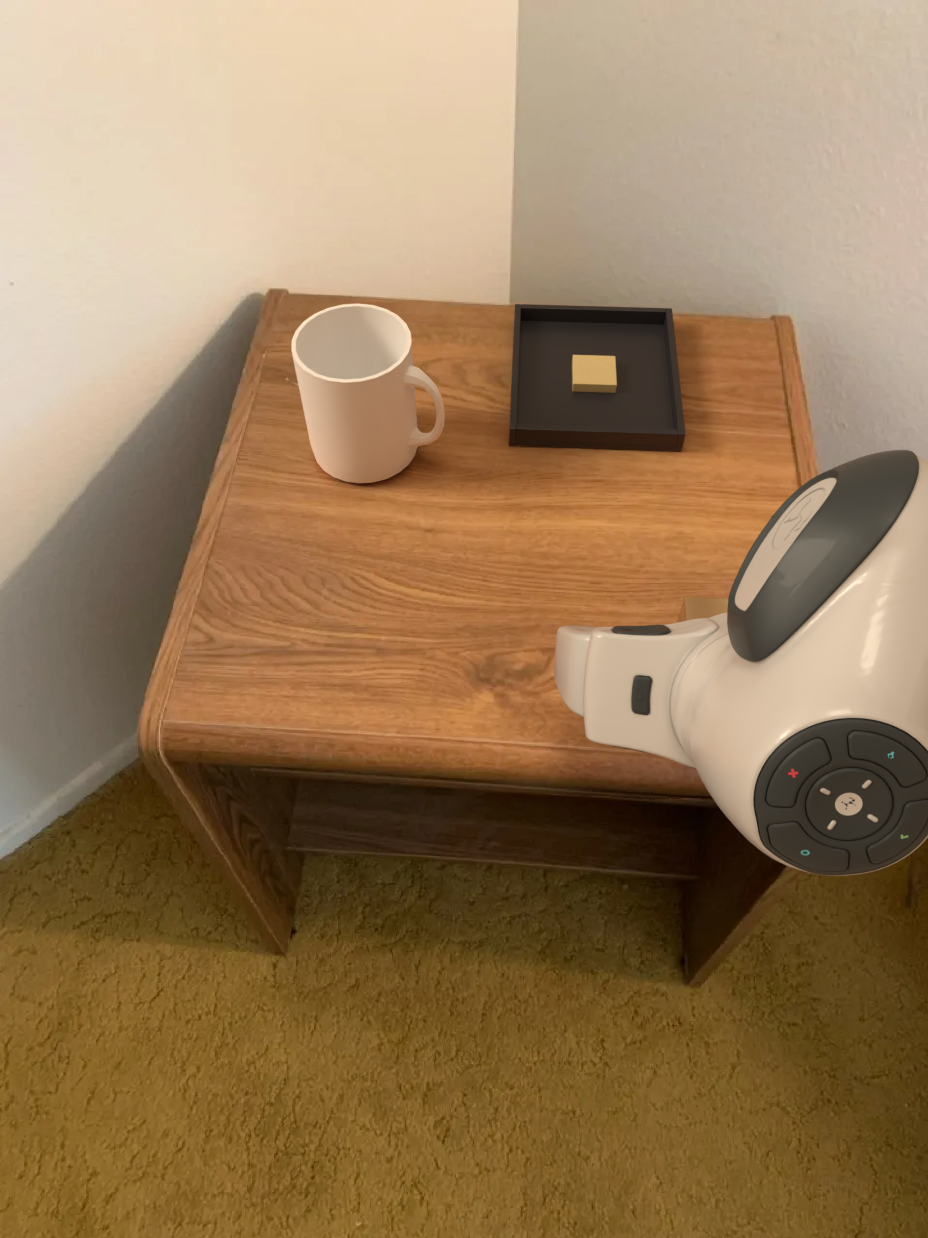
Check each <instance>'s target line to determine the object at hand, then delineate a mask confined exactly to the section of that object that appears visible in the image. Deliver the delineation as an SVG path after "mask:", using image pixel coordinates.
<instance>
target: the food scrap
mask: <svg viewBox="0 0 928 1238" xmlns="http://www.w3.org/2000/svg"><path fill="white" fill-rule="evenodd" d="M616 388H617V376H616V357H615V356H598V355H573V357H572V391H573V392H602V393H616Z"/></svg>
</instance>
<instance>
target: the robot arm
mask: <svg viewBox="0 0 928 1238" xmlns="http://www.w3.org/2000/svg"><path fill="white" fill-rule="evenodd" d="M727 599H728V609H727V613H722V614H719V615H715V616H713V617H710V618H699V619H692V620H687V621H683V622H678V623H677V622H673V623H667V624H645V625H614V626H587V625H586V626H585V625H571V624H570V625H562V626H559V627H558V629H557V630H556V635H555V644H554V645H555V647H554V670H553V671H554V673H553V674H554V682H555V686H556V688H557V691H558V694H559V695H560V697H561V699H562V701H563V703H564V704H565V706H566V707H567V708H568V709H569V710H570V711H571V712H572V713H574V714H575V715H577V716H578V717H581V718H583V725H584V727H583V728H584V736H585V737H586V739H588V740H589V741H590V742H593V743H595V744H600V745H605V746H610V747H614V748H620V749H625V750H630V751H636V752H640V753H645V754H648V755H649V754H651V755H655V756H659V757H662V758H665V759H668V760H671V761H674V762H675V763H679V764H681V765H684V766H687V767H690V768H692V769H696V772H697V774H698V776H699V778H700V780H701V782H702V784H703V785H704V787H705V789H706V790H707V792H708V794H709V795H710V796H711V798H712V799H713V801H714V802H715V804H716V805H717V807H718V808H719V809H720V811H721V812H722V813H723V814H724V815H725V817H726V819H728V820H729V821H730V822H731V824H732V826H734V828H735V829H737V831H739V833H740V834H741V835H742V836H743V837H744V838H745V839H746V840H747V841H748V842H749V843H750V844H751V845H753V846H754V847H756V848H757V849H758V850H759V851H760V852H762V853H763V854H764V855H766V856H768V857H769V858H770V859H772V860H774V861H776V862H777V863H780V864H782V865H784V866H786V867H789V868H792V869H794V870H797V871H800V872H805V873H807V874H808V873H809V874H812V875H818V876H828V877H848V876H856V875H863V874H868V873H873V872H876V871H880V870H883V869H885V868H888V867H891V866H892V865H894V864H897V863H898V862H900V861H903V860H904V859H906V858H907V857H908V856H910V855H911V854H912V853H914V852H915V851H916V850H918V848H920V847H921V846H922V845H923V844H924V843H925V841H926V840H927V839H928V460H927V459H925V458H922V457H921V456H919V455H916V453H915V452H913V451H912V450H908V449H891V450H886V451H885V450H883V451H880V452H874V453H870V454H866V455H863V456H860V457H858V458H855V459H852V460H850V461H847V462H844V463H842V464H839V465H837V466H835V467H833V468H830V469H828V470H826V471H824V472H822V473H819V474H818V475H816V476H814V477H812V478H811V479H809V480H807V481H806V482H805V483H804V484H803V485H801V486H800V487H799V488H797V489H796V490H795V491H794V492H793V493H791V495H790V496H788V498H787V499H785V501H783V503H782V504H781V505H780V506H779V507H778V508H777V509H776V510H775V512H774V513H773V515H772V516H771V518H770V519H769V520H768V521H767V523H766V524H765V525H764V527H763V528H762V529H761V531H760V533H759V534H758V536H757V537H756V538H755V540H754V542H753V544H752V545H751V547H750V549H749V550H748V552H747V553H746V556H745V558H744V559H743V561H742V564H741V565H740V568H739V569H738V571H737V574H736V576H735V578H734V581H733V583H732V586H731V588H730V591H729V594H728V598H727Z"/></svg>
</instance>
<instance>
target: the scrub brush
mask: <svg viewBox="0 0 928 1238" xmlns="http://www.w3.org/2000/svg"><path fill="white" fill-rule="evenodd" d="M727 609H728V598H723V597H722V598H720V597H719V598H718V597H699V596H697V597H696V596H684V598H683V601H682V604H681V608H680V611H679V614H678V617H677V620H676V623H678V622H683V621H687V620H692V619H699V618H710V617H713V616H715V615H719V614H722V613H727Z"/></svg>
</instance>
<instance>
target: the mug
mask: <svg viewBox="0 0 928 1238" xmlns="http://www.w3.org/2000/svg"><path fill="white" fill-rule="evenodd" d="M412 343H413V342H412V332H411V330H410V329H409V326H408V324H407V322H406V321H404V320H403V319H402V318H401V317H400V316H399V315H398V314H396V313H395V312H393V311H391V310H389V309H387V308H385V307H380V306H378V305H374V304H367V303H344V304H343V303H342V304H339V305H334V306H331V307H327V308H325V309H322V310H320V311H317V312H315V313H313V314H312V315H310V316H309V317H308V318H306V319H305V320H304V321H303V322H302V323H301V324H300V325H299V326H298V327H297V328H296V329H295V332H294V334H293V336H292V339H291V348H290V349H291V356H292V360H293V366H294V370H295V375H296V380H297V385H298V388H299V389H298V391H299V396H300V399H301V405H302V409H303V414H304V415H303V416H304V419H305V420H304V421H305V425H306V429H307V434H308V439H309V444H310V447H311V450H312V454H313V455H314V458H315V460H316V463H317V464H318V465H319V467H320V468H321V470H323V471H324V472H325V473H326V474H328V475H329V476H331V477H333V478H334V479H336V480H337V479H338V480H340V481H344V482H345V483H346V482H347V483H354V484H369V483H371V484H372V483H376V482H380V481H385V480H388V479H390V478H391V477H394V476H396V475H397V474H399V473H401V472H402V471H403V470H405V469H406V468H407V467H408V466H409V465H410V463H411V462H412V461H413V459H414V457H415V456H416V453H417V451H418V447H421V446H428V445H431V444H432V443H434V442H436V441H437V440H439V439H440V437H441V435H442V434H443V431H444V426H445V422H446V416H445V415H446V414H445V413H446V412H445V406H444V401H443V397H442V394H441V392H440V391H439V388H438V386H437V385H436V383H435V382H434V381H433V380H432V378H430V377H429V375H427V374H426V373H425V372H424V371H423V370H422V369H421V368H420V367H417V366H416V365H414V360H413V359H414V358H413V344H412ZM416 389H423V390H425V392H427V393H428V395H429V396H430V398H431V400H432V401H433V404H434V407H435V413H436V414H435V416H436V419H435V424H434V427H433V428H432V430H431V431H429V432H422V431H421V430H420V429H419V428H418V417H417V399H416Z"/></svg>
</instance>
